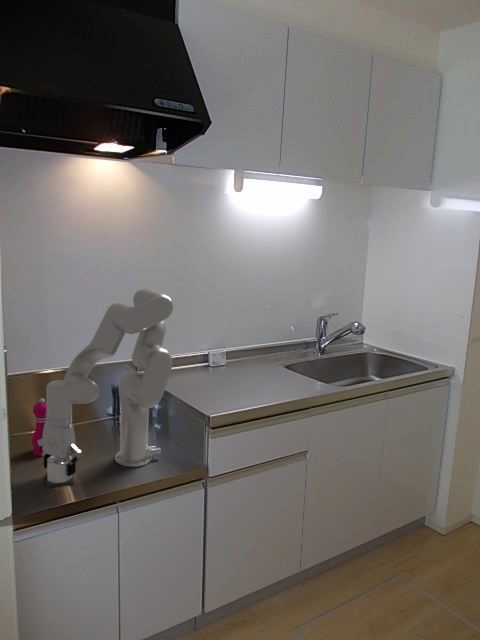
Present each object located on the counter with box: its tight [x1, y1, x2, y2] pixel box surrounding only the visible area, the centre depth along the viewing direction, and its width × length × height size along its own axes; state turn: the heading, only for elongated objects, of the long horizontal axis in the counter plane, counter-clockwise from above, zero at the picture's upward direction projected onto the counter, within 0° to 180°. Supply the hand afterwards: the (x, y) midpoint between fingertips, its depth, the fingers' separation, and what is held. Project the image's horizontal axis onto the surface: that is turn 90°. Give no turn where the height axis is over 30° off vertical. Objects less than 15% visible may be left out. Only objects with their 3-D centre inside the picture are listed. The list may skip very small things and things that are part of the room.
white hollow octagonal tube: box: [46, 456, 72, 483], centre depth 175 cm, size 7×7×6 cm
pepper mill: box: [30, 397, 47, 457], centre depth 192 cm, size 7×7×20 cm
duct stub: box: [45, 460, 74, 488], centre depth 175 cm, size 8×8×6 cm
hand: (59, 470), depth 175 cm, fingers open, 9 cm apart
